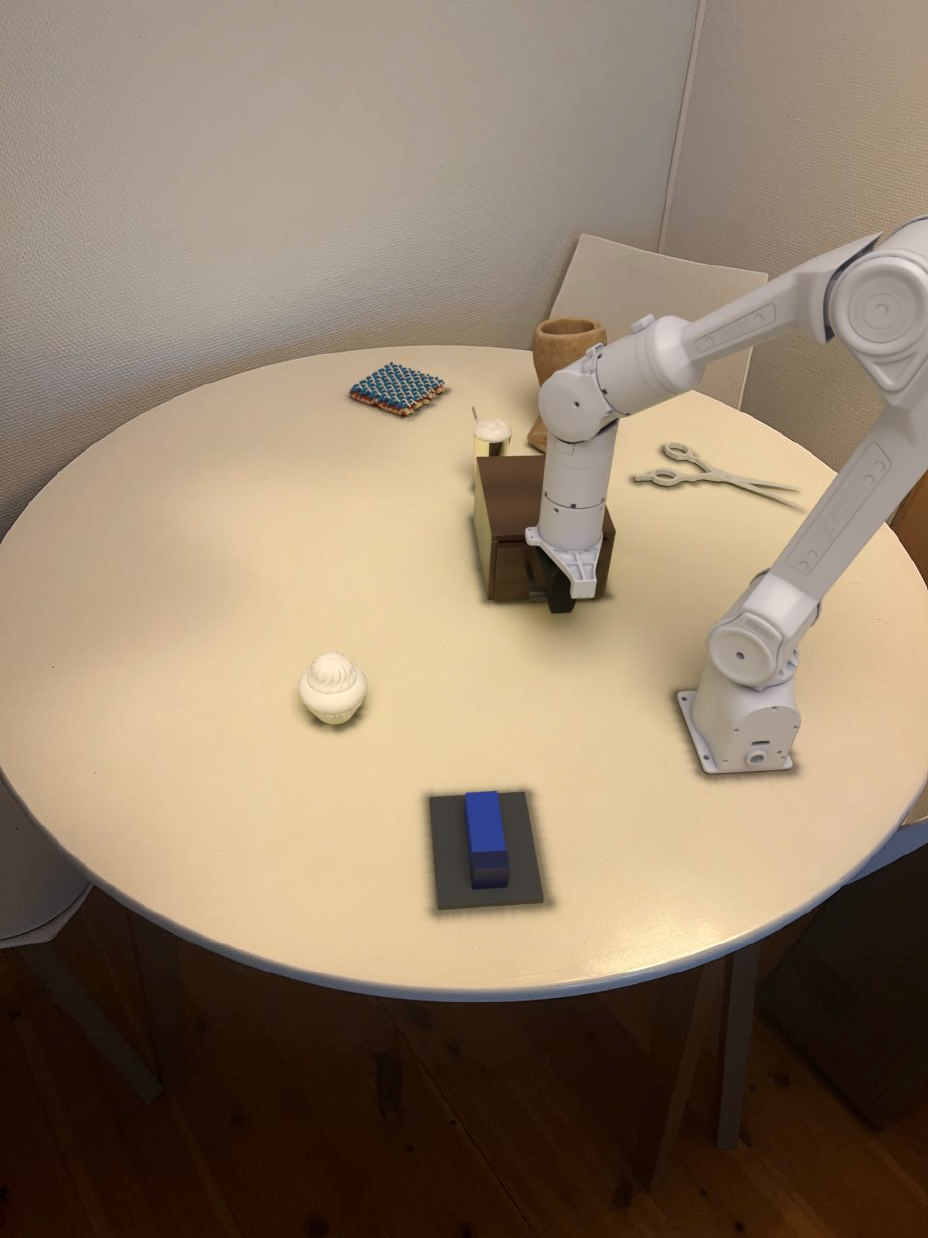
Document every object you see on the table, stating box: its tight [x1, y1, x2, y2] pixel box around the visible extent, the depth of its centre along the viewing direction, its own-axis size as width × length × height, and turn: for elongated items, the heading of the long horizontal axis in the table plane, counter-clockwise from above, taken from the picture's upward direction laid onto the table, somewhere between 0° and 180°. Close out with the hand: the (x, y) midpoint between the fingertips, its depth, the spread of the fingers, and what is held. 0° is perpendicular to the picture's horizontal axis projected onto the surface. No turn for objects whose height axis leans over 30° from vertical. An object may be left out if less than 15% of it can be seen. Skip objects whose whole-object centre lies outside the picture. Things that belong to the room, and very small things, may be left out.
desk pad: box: [429, 791, 545, 911], centre depth 70 cm, size 10×8×1 cm
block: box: [464, 790, 510, 890], centre depth 69 cm, size 3×7×3 cm, turn 5°
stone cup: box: [526, 316, 608, 454], centre depth 114 cm, size 15×12×15 cm
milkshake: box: [471, 406, 513, 476], centre depth 106 cm, size 4×5×10 cm
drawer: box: [494, 539, 611, 602], centre depth 93 cm, size 18×11×7 cm, turn 5°
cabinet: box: [473, 454, 617, 601], centre depth 96 cm, size 15×13×9 cm
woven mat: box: [348, 361, 446, 416], centre depth 125 cm, size 10×11×2 cm
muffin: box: [297, 650, 369, 726], centre depth 78 cm, size 6×6×7 cm
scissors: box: [633, 441, 803, 507], centre depth 111 cm, size 11×1×20 cm
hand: (559, 608), depth 87 cm, fingers closed, pressing on drawer
